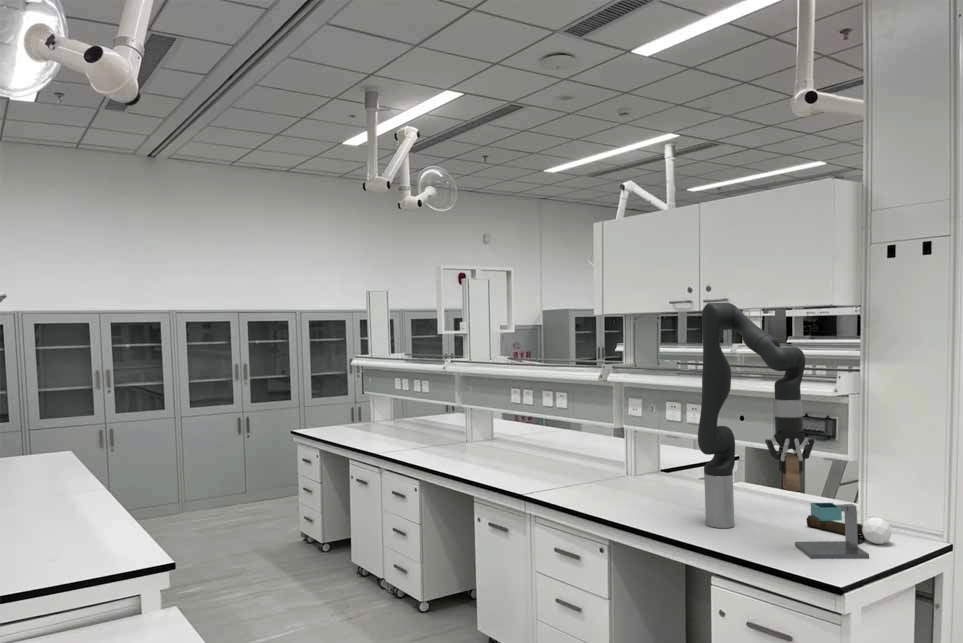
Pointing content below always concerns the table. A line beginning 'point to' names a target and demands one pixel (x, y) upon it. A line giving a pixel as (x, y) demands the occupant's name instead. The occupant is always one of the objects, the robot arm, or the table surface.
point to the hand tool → (830, 525)
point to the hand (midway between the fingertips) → (790, 473)
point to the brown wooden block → (791, 473)
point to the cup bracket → (834, 547)
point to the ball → (876, 530)
